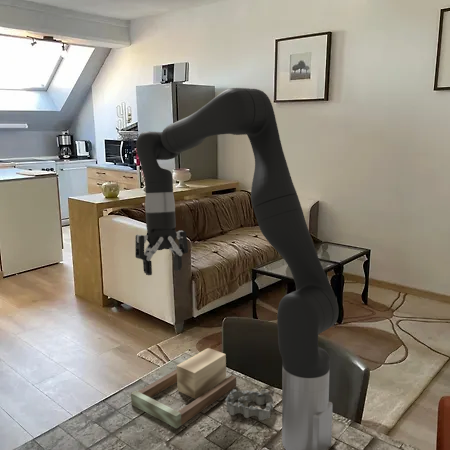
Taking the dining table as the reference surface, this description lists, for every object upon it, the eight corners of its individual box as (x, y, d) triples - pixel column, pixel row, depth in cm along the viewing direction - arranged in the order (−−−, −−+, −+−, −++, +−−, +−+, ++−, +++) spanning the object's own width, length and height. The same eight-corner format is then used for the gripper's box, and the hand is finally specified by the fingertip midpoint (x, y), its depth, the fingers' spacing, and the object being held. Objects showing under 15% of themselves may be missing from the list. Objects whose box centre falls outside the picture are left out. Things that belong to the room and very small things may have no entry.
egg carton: (276, 406, 108) (276, 390, 107) (267, 424, 101) (267, 407, 101) (233, 397, 112) (233, 381, 111) (222, 414, 105) (222, 398, 104)
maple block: (226, 378, 120) (225, 354, 119) (195, 399, 111) (194, 373, 110) (208, 371, 124) (208, 347, 123) (177, 391, 115) (176, 365, 114)
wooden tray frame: (236, 386, 116) (236, 375, 116) (176, 428, 100) (176, 416, 99) (192, 368, 126) (192, 358, 125) (131, 404, 109) (130, 393, 109)
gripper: (142, 212, 111) (145, 278, 112) (191, 208, 119) (194, 270, 121) (128, 211, 117) (131, 274, 118) (176, 208, 125) (178, 267, 127)
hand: (163, 272), depth 119 cm, fingers open, 8 cm apart
